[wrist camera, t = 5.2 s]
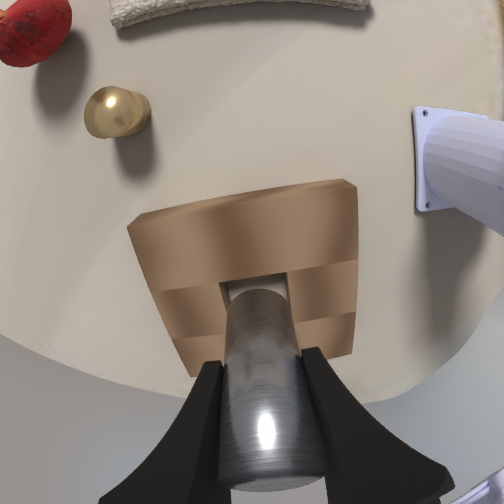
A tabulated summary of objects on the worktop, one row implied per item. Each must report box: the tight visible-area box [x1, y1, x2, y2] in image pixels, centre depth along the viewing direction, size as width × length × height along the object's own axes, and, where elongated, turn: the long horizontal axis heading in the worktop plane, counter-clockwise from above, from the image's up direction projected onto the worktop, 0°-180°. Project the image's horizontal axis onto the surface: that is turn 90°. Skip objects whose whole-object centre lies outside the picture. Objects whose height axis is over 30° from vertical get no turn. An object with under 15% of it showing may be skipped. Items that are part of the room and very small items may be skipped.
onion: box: [0, 0, 72, 67], centre depth 7 cm, size 6×6×8 cm
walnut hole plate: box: [127, 179, 358, 377], centre depth 19 cm, size 14×14×2 cm
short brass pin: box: [84, 86, 151, 139], centre depth 13 cm, size 3×3×4 cm
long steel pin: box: [218, 289, 326, 492], centre depth 9 cm, size 3×3×8 cm
